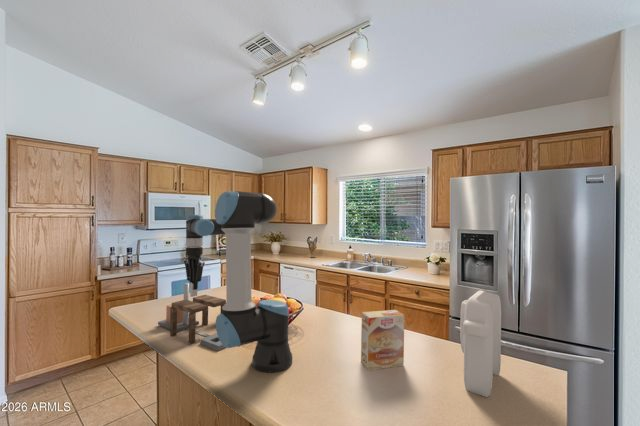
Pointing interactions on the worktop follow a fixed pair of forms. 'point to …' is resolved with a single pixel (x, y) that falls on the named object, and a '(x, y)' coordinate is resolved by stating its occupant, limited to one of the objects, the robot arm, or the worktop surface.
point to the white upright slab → (481, 341)
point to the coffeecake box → (382, 339)
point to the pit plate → (213, 342)
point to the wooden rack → (193, 313)
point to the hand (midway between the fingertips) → (193, 295)
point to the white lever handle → (178, 314)
